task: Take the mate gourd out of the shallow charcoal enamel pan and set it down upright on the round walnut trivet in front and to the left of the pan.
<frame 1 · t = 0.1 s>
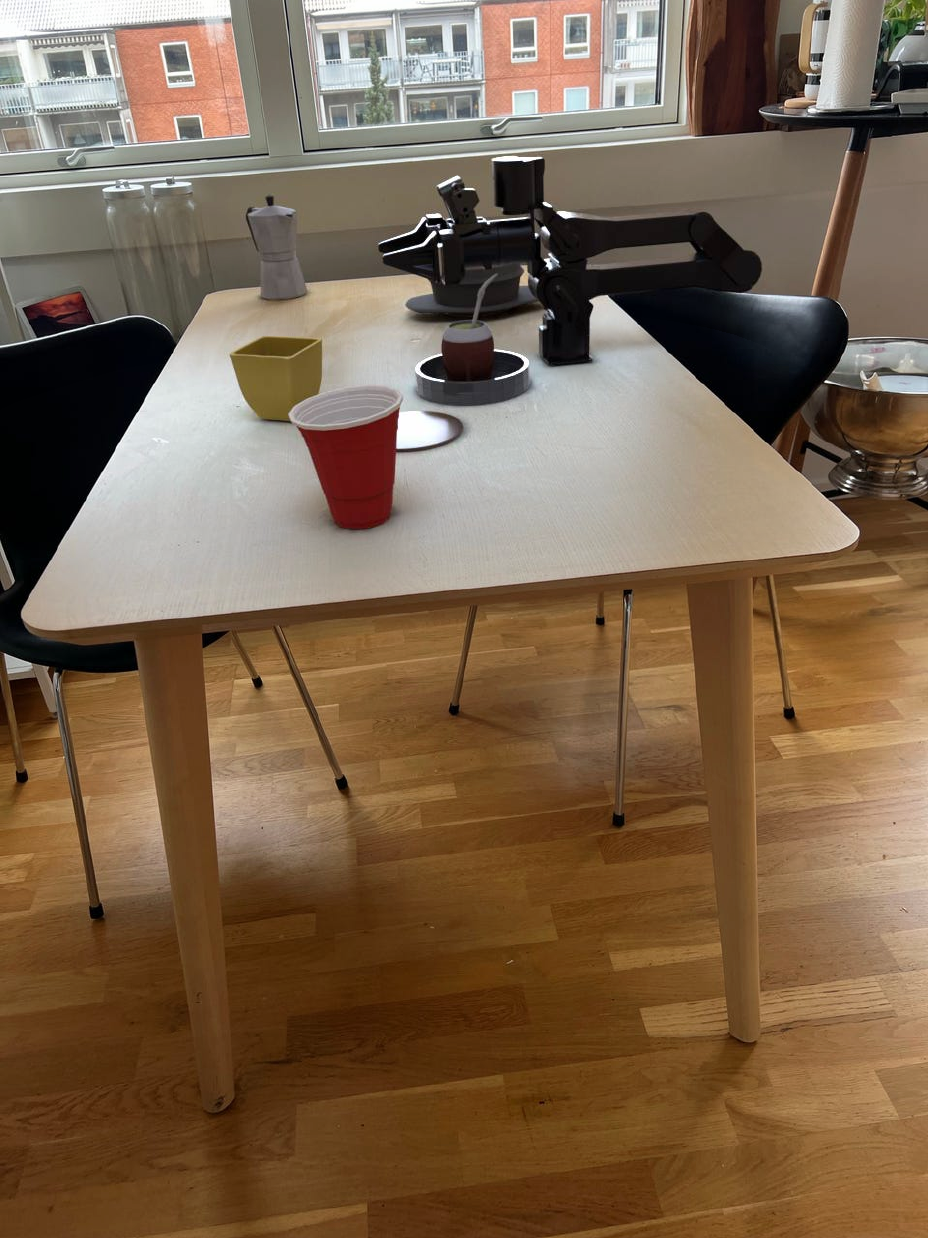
hand: (380, 253, 125), 17 cm above the table, tool horizontal, fingers open, 9 cm apart
coffeepot: (281, 294, 185), on the table
casserole: (476, 311, 164), on the table
pan: (473, 387, 127), on the table
trivet: (409, 431, 113), on the table
plastic cup: (360, 519, 93), on the table
mate gourd: (473, 386, 127), resting on pan
flower pot: (287, 416, 121), on the table
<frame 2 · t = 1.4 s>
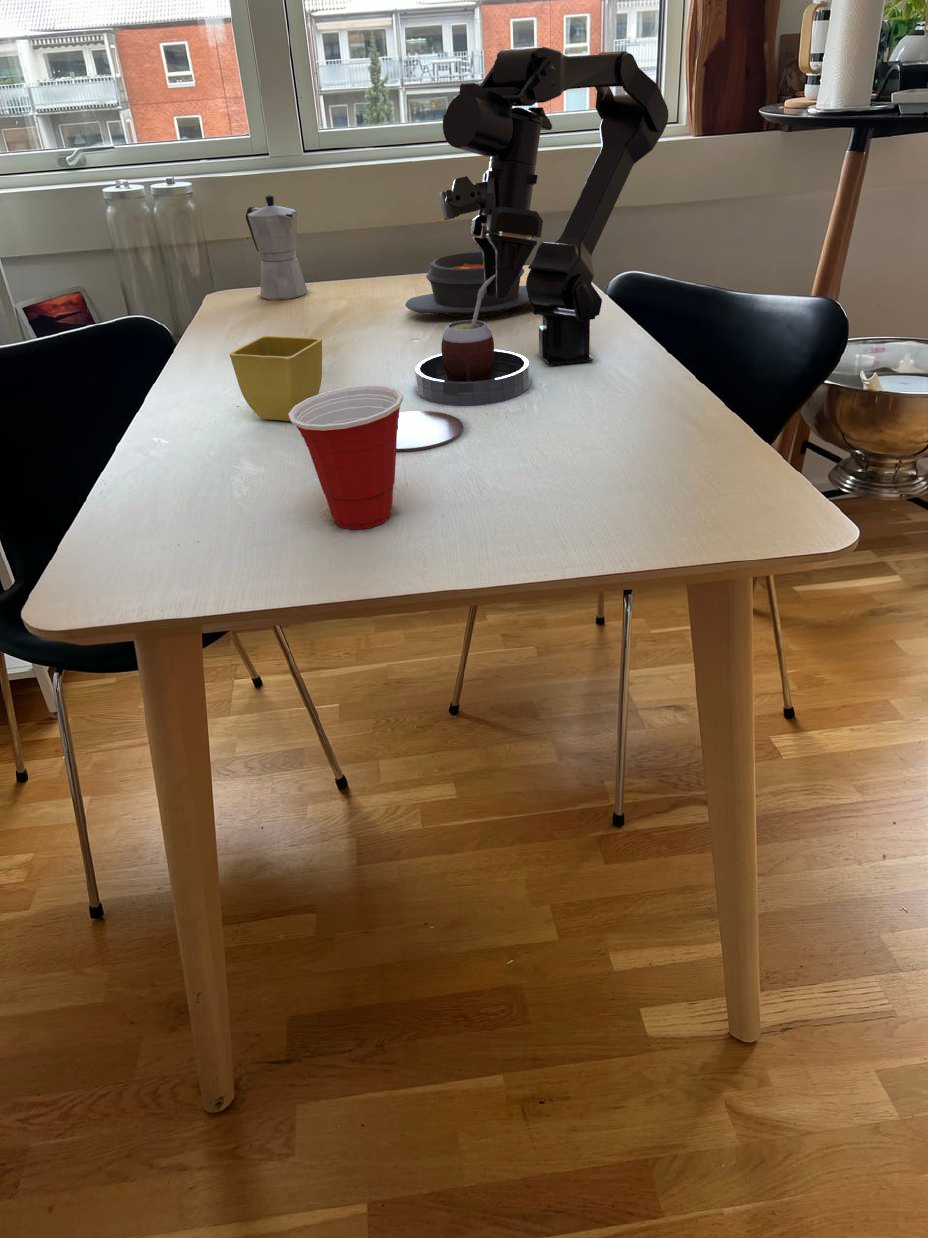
hand: (495, 296, 120), 12 cm above the table, tool tilted 15°, fingers open, 9 cm apart
nothing on the table moved.
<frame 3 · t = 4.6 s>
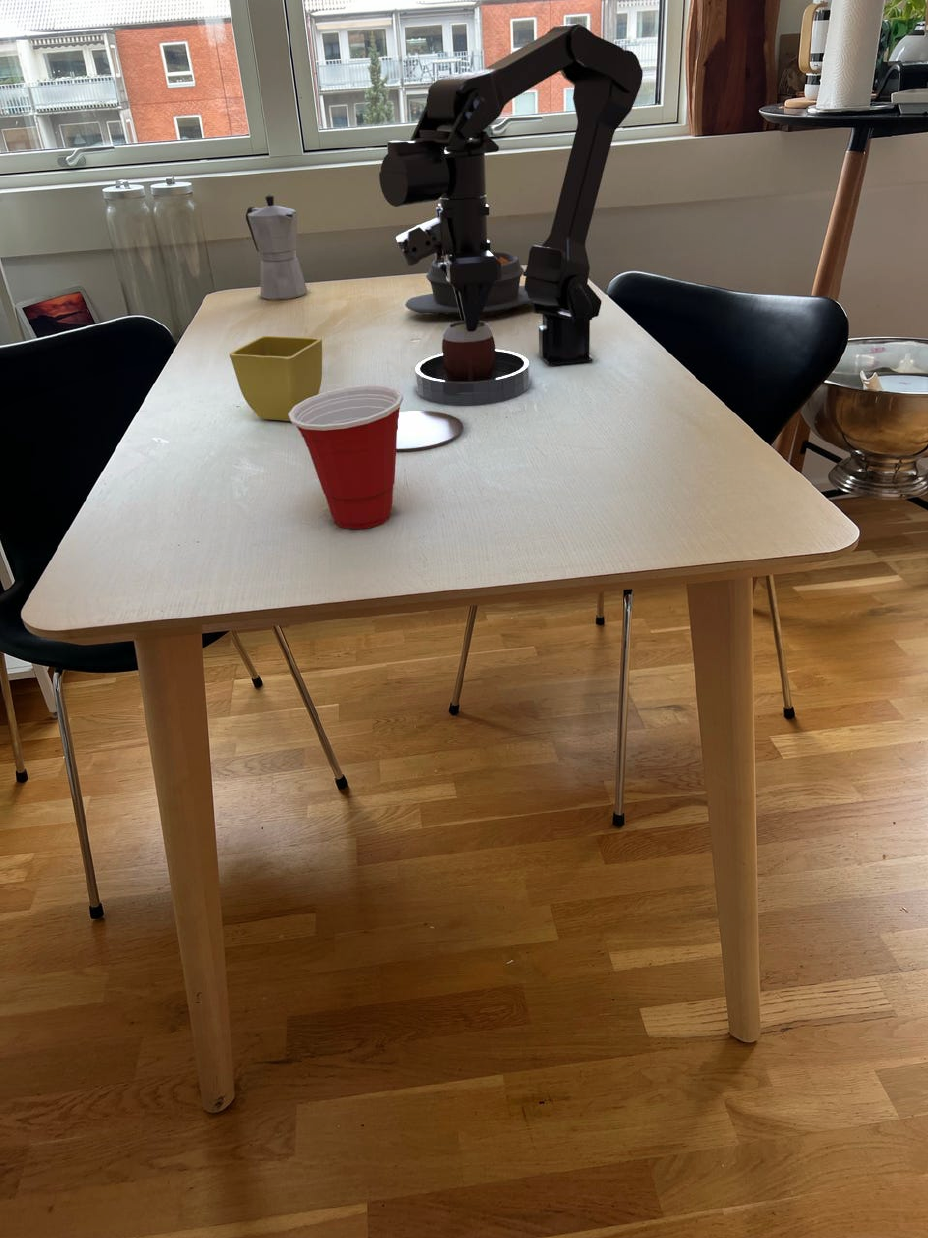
hand: (468, 325, 122), 8 cm above the table, tool pointing down, fingers closed on mate gourd, 5 cm apart
mate gourd: (473, 386, 126), resting on pan, touching gripper
everything else where it was.
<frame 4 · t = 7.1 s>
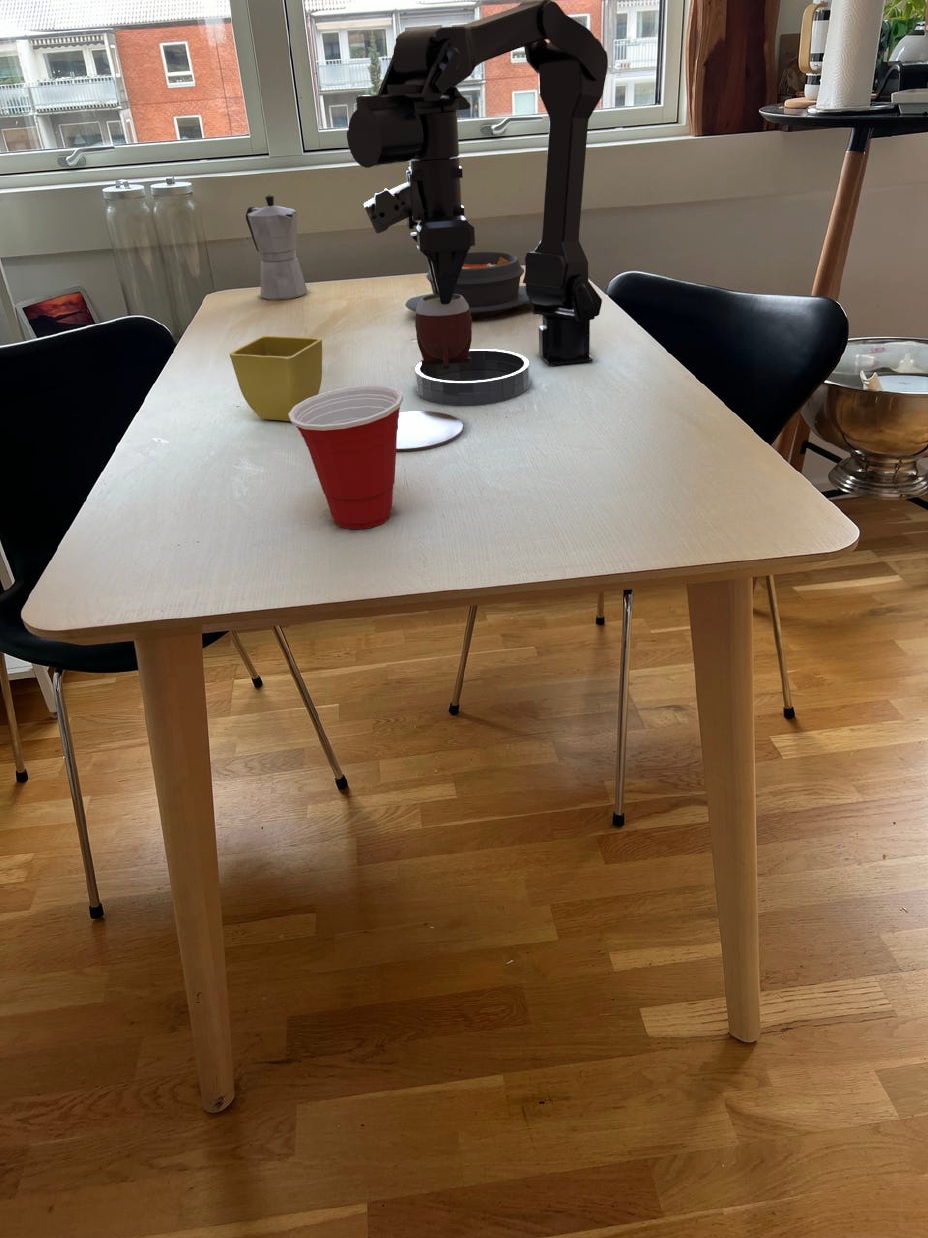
hand: (442, 298, 115), 13 cm above the table, tool pointing down, fingers closed on mate gourd, 5 cm apart
mate gourd: (449, 364, 118), point 5 cm above the table, touching gripper
everything else where it was.
when the fingers open (8 cm above the table, at t = 10.1 s): mate gourd stays where it is, resting on trivet.
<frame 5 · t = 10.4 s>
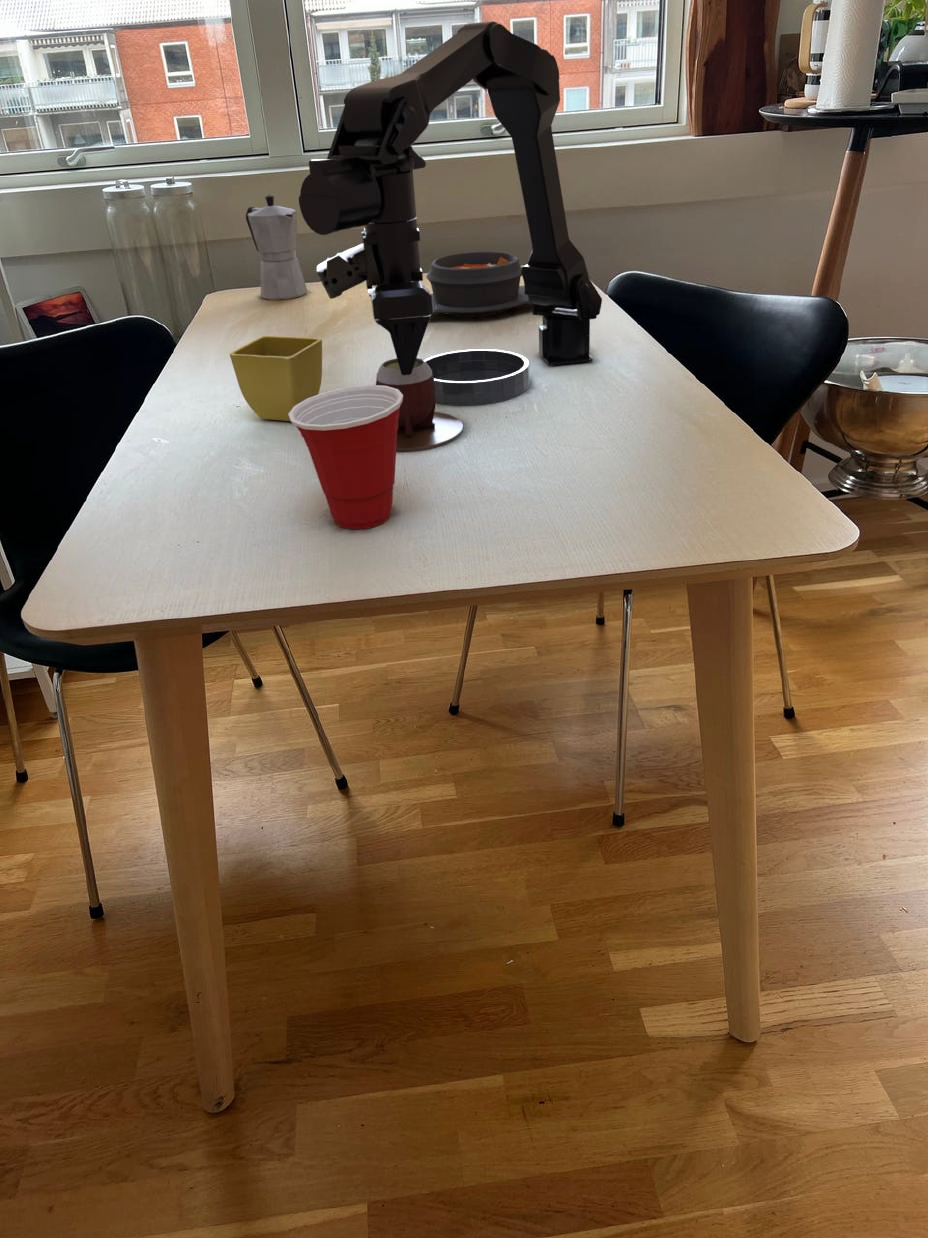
hand: (403, 363, 109), 8 cm above the table, tool pointing down, fingers open, 9 cm apart
mate gourd: (412, 431, 113), resting on trivet
everything else where it was.
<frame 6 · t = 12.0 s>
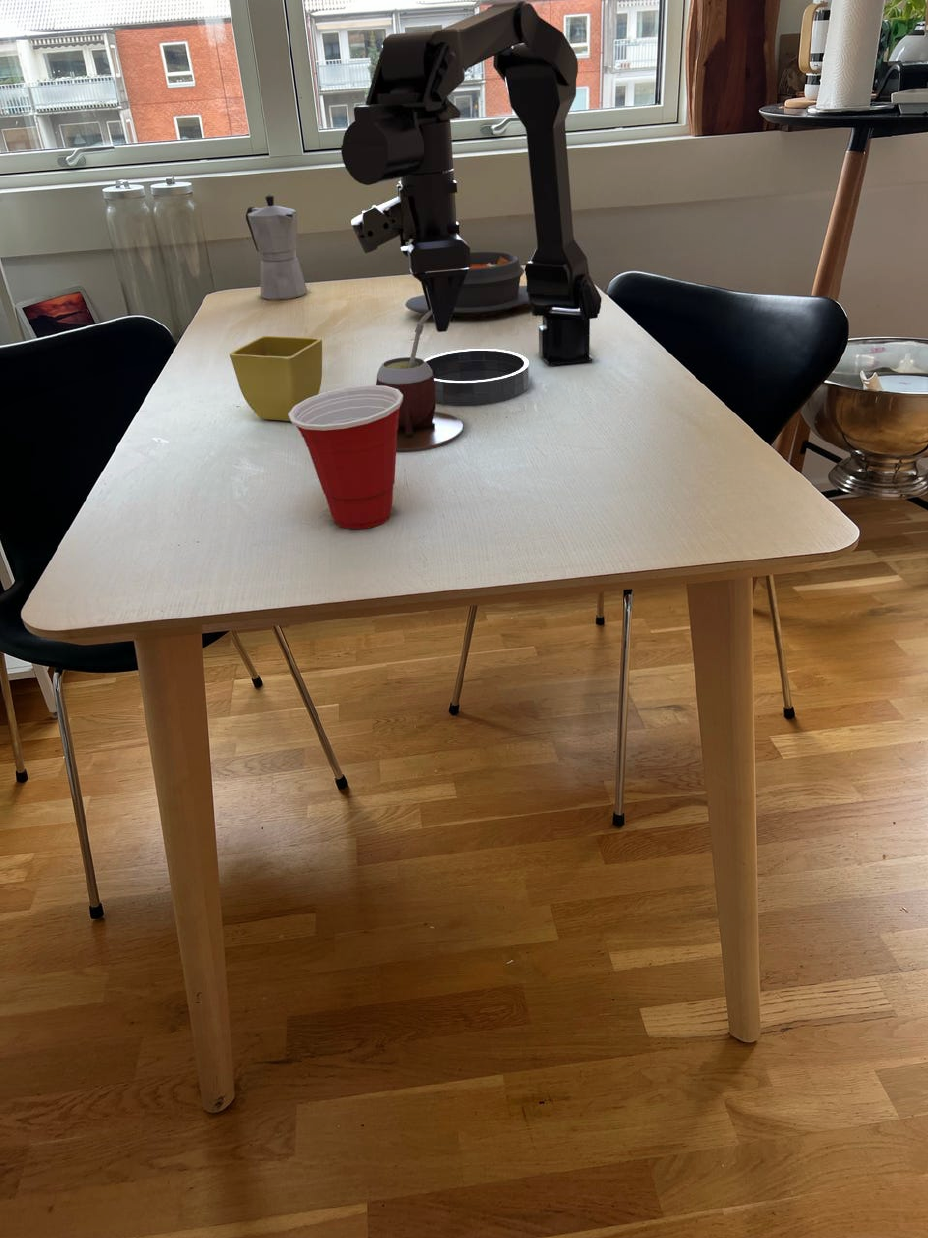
hand: (437, 321, 107), 13 cm above the table, tool pointing down, fingers open, 9 cm apart
mate gourd: (412, 430, 113), resting on trivet, touching gripper
everything else where it was.
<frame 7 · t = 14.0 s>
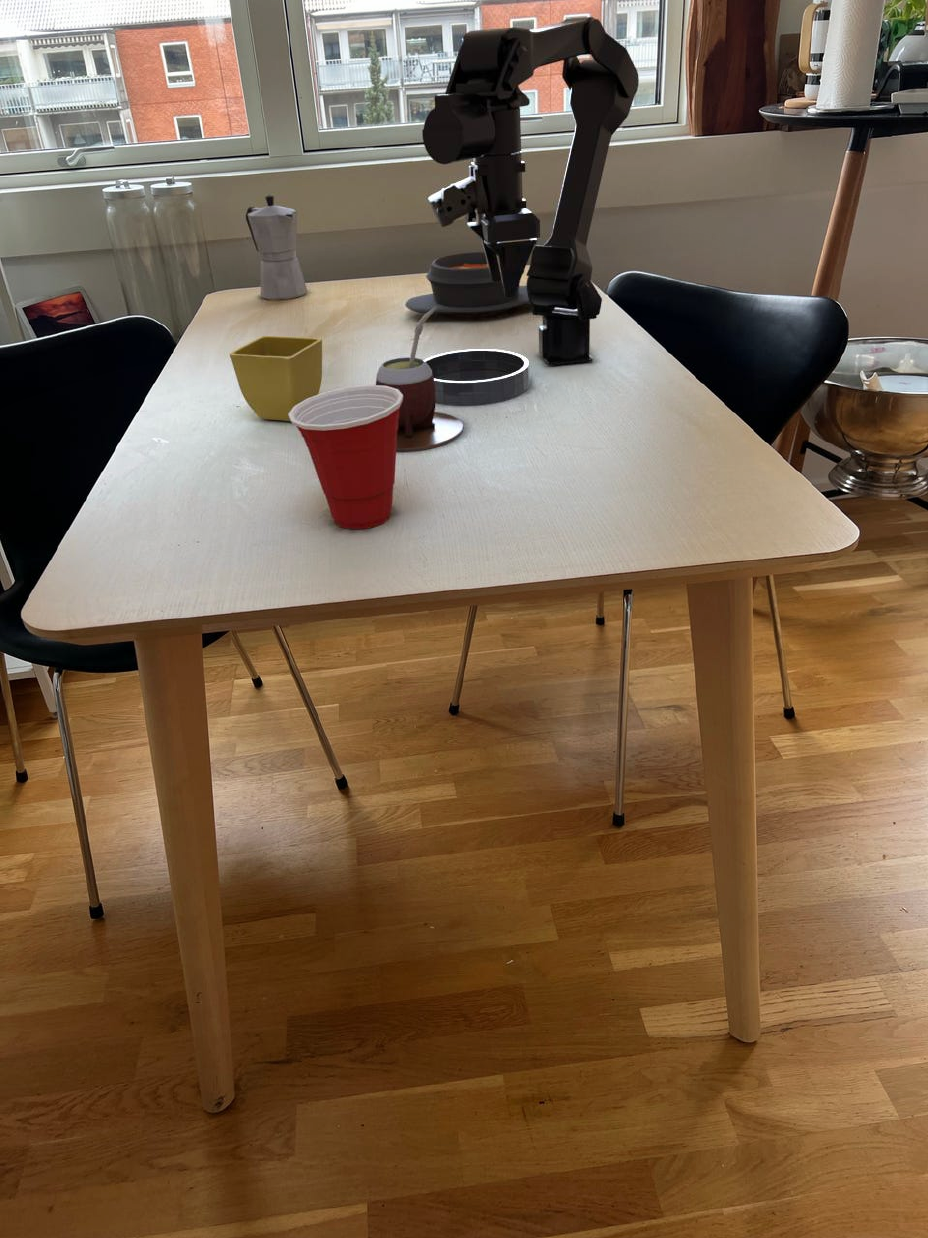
hand: (502, 288, 119), 13 cm above the table, tool pointing down, fingers open, 9 cm apart
mate gourd: (412, 431, 113), resting on trivet
everything else where it was.
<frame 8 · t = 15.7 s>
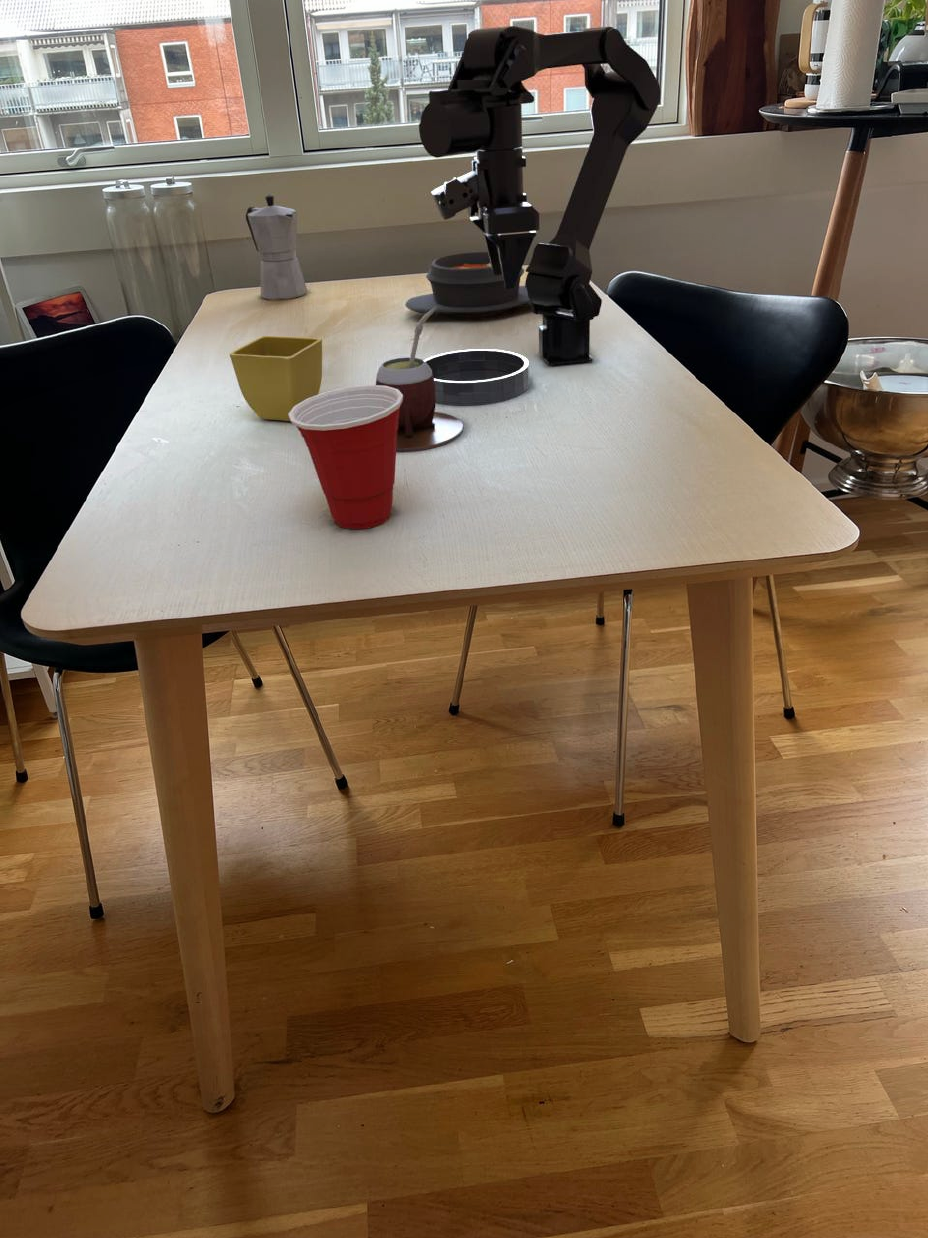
hand: (503, 281, 122), 13 cm above the table, tool pointing down, fingers open, 9 cm apart
nothing on the table moved.
at the end: mate gourd inside the target area (0.6 cm from its centre), resting on trivet; mate gourd tilted 0°; the gripper is holding nothing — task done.
